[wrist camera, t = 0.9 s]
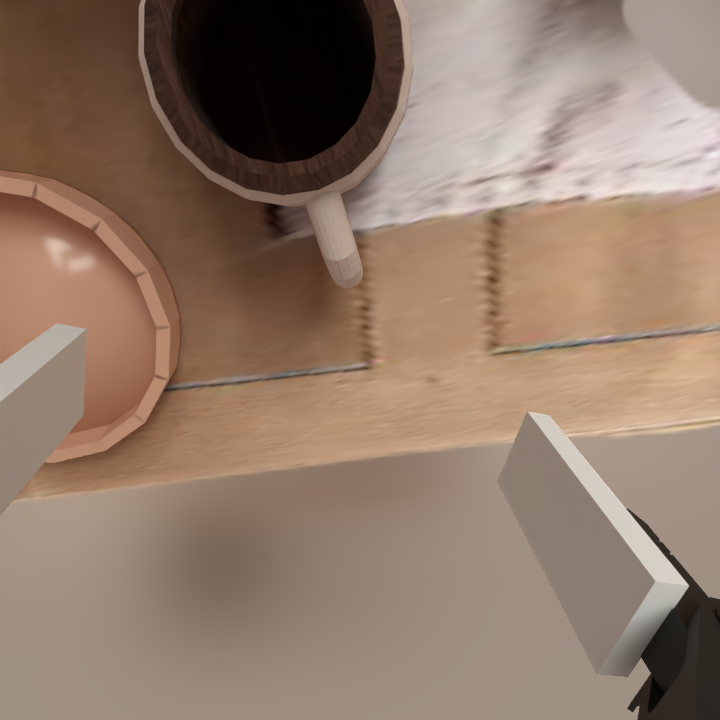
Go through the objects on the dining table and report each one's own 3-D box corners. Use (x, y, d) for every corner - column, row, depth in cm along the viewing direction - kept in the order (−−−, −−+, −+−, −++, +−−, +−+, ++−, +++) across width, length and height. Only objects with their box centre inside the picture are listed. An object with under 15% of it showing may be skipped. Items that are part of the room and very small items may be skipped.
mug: (140, 1, 33) (11, -105, 19) (363, -78, 32) (398, -247, 18) (255, 287, 40) (223, 360, 27) (435, 229, 40) (498, 273, 26)
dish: (-185, 210, 36) (-234, 217, 33) (115, 138, 36) (95, 137, 32) (-25, 462, 45) (-51, 487, 41) (217, 406, 44) (209, 426, 41)
